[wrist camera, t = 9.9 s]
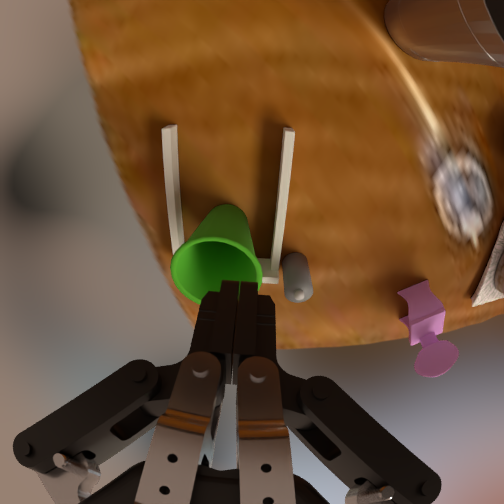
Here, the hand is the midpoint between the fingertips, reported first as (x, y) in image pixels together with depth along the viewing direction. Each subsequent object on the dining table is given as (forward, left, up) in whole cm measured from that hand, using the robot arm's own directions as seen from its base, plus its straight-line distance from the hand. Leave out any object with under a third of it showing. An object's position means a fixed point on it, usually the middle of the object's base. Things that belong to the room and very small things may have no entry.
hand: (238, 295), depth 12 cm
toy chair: (+22, +30, -23) cm, 44 cm away
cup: (+9, -3, -23) cm, 25 cm away
